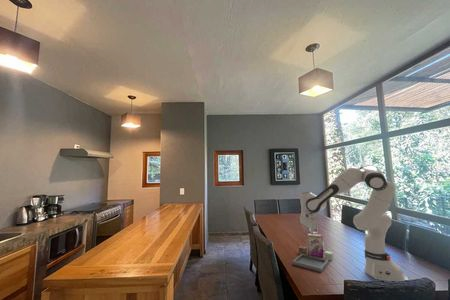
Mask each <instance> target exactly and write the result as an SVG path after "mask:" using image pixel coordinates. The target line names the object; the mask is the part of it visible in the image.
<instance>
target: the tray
mask: <svg viewBox="0 0 450 300" xmlns="http://www.w3.org/2000/svg"><path fill="white" fill-rule="evenodd" d="M329 261H330V260H327V259H325V258H323V257H315V256H309V254H306V255H305V254H298V256H297V257H296V258H294V260H292V265H293V266H297V267H300V268H303V269H307V270H311V271H315V272H318V273H323V272H324V271H325V269H326V267H327V266H328V265H330V264H329Z"/></svg>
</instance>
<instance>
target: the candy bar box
mask: <svg viewBox="0 0 450 300" xmlns="http://www.w3.org/2000/svg"><path fill="white" fill-rule="evenodd" d="M322 242H323V236H322V234H315V233H313V234H310V233H307V255H309V256H314V257H318V258H324V251H323V243H322Z"/></svg>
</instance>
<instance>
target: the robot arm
mask: <svg viewBox="0 0 450 300" xmlns="http://www.w3.org/2000/svg"><path fill="white" fill-rule="evenodd" d="M359 183H365V185H366V186H367V187H369V188H370V189H372V190H371V193H370V196H369V199H368V202H367V203H366V205H365V206H364V207H363V208H362V210H361V211H359V212H358V213H357V214H356V215H354V216H353V219H352V221H353V225H354V226H355V228H356V229H358V230H359V231H367V234H366V235H365V236H364V239H363V240H364V251H363V252H364V258H365V267H364V273H366V274H367V275H369V276H371V277H372V278H373V279H375V280H379V281H384V282H389V281H403V280H409V277H408V275H406V274H404V272H403V270H402V267H401V266H400V265H398V264H397V263H396V262H395V261H393V260H392V259H391V255H390V253H388V252H386V242H385V239H386V234H387V232H388V229H389V228H390V227H391V226H392V224H393V223H392V219H391V216H390V215H388V214H387V212H388V211H389V208H390V206H391V203H392V201H393V198H394V195H395V184H393V183H392V182H391V181H388V180H387V178H386V177H385V176H384V174H383V172H382V171H381V170H380V169H379V168H378V167H377V166H375V165H372V164H367V165H364V166H360V167H356V166H351V167H349V168H347V169H345V170H344V171H343V172H341V173H340V174H338V175H337V177H335V178H334V180H332V182H331V183H330V184H329V185H328V186H327V187H326V188H325V189H324V190H322V191H321V192H320V193H318V195H316V194H314V193H312V192H311V191H305V192H302V193H301V194H300V205H301V206H300V207H301V208H300V214H299V222H300V224H302V227H303V230H304V232H308V228H309V229H310V231H309V234H314V231H315V230H318V215H317V213H318V212H321V211H323V210H325V209H326V208H327V206H328V204H327V201H329V200H330V199H332V198H333V197H335V196H338V195H341V194H343V193H346V192H348V191H350V190H351V189H353V188H354V187H355V186H356V185H358V184H359ZM307 227H308V228H307Z"/></svg>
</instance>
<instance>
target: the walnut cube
mask: <svg viewBox="0 0 450 300" xmlns="http://www.w3.org/2000/svg"><path fill="white" fill-rule="evenodd" d="M301 254H305V255H308V246H303V245H299V246H298V255H301Z"/></svg>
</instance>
